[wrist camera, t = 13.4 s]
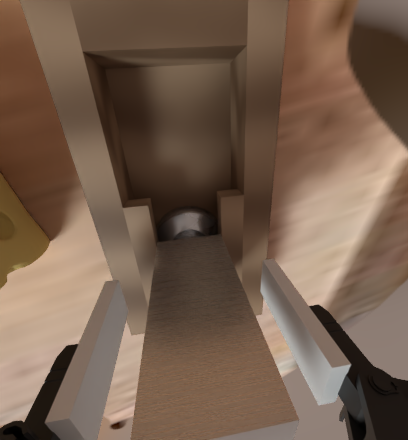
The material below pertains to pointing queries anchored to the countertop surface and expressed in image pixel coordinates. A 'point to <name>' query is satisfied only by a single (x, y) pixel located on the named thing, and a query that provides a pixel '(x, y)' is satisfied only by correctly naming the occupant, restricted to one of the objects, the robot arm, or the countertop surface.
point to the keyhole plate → (167, 121)
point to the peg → (205, 345)
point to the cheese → (17, 234)
